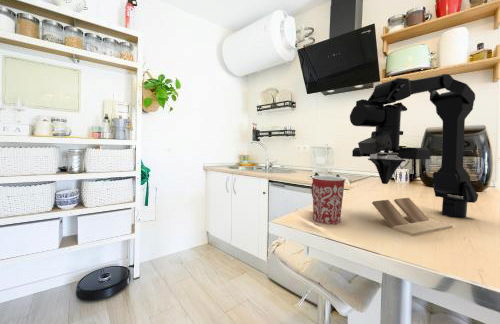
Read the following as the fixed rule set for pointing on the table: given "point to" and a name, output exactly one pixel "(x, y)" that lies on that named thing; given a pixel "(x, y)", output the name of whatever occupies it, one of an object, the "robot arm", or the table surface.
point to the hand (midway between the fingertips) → (384, 183)
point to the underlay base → (422, 227)
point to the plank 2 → (411, 210)
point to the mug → (327, 198)
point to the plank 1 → (389, 213)
